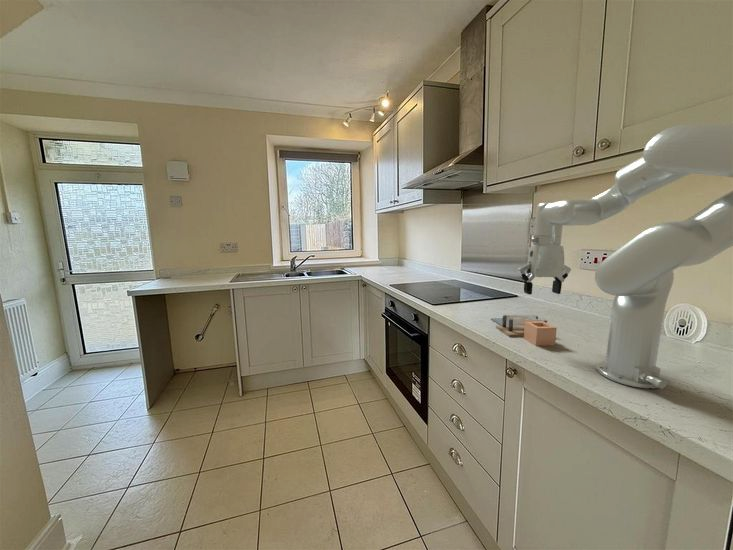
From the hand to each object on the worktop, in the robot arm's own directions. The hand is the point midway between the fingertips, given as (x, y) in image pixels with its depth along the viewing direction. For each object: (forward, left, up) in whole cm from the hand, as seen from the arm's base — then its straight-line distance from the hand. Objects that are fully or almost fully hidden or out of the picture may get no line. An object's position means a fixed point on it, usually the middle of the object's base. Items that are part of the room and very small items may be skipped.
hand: (541, 293), depth 96 cm
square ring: (0, 0, -17) cm, 17 cm away
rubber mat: (+20, -1, -17) cm, 26 cm away
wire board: (+10, -1, -17) cm, 19 cm away
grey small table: (+10, -1, -17) cm, 19 cm away
